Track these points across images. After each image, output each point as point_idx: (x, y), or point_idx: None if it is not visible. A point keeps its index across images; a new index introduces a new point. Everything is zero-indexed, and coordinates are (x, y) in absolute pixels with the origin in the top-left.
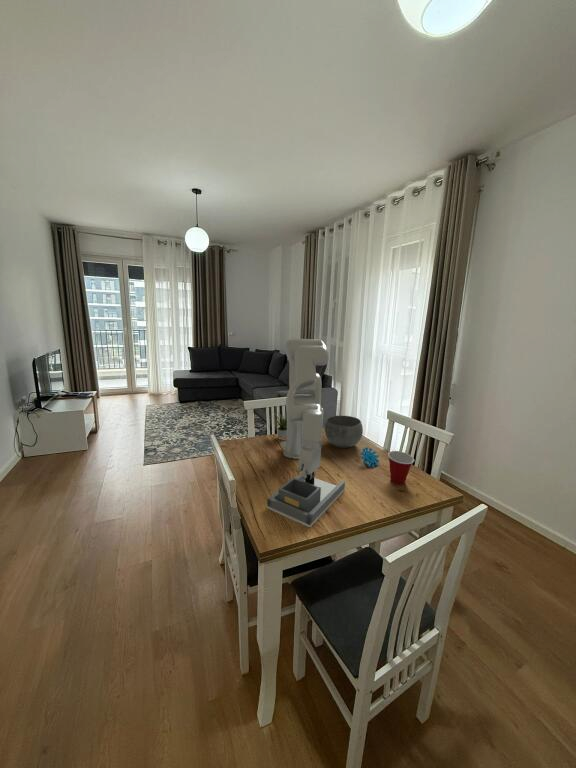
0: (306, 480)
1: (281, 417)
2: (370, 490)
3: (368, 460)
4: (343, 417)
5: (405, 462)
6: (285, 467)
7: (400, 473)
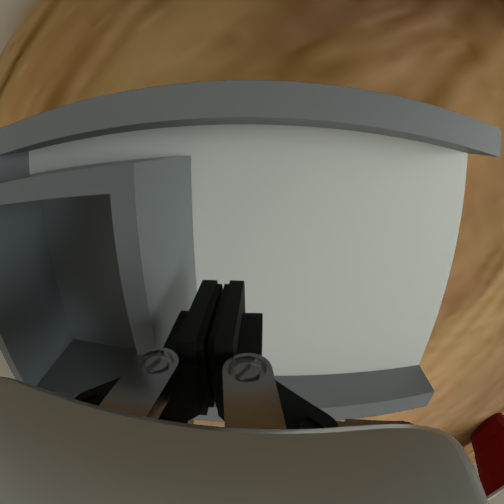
0: (166, 346)
1: None
2: (432, 419)
3: None
4: None
5: None
6: None
7: (479, 467)
